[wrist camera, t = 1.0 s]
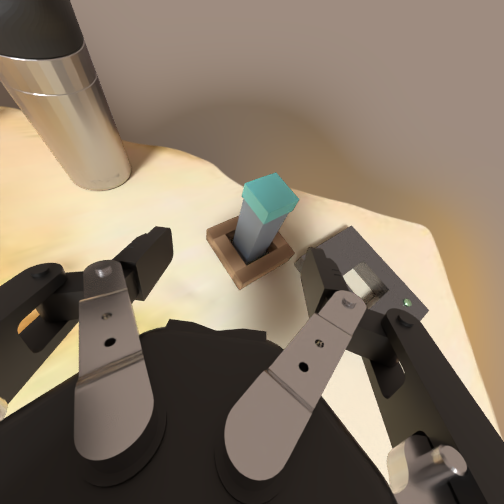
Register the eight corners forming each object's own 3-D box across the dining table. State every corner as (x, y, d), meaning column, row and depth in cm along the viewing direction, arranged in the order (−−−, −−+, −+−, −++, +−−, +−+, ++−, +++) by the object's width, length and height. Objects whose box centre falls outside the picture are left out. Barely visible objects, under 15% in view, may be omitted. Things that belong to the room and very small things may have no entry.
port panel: (293, 264, 36) (301, 256, 33) (342, 234, 41) (352, 224, 38) (369, 362, 31) (385, 363, 28) (412, 314, 36) (430, 310, 33)
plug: (229, 245, 35) (244, 183, 23) (251, 235, 37) (275, 172, 24) (244, 266, 34) (268, 213, 21) (265, 255, 35) (299, 199, 23)
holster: (206, 239, 34) (206, 229, 32) (255, 217, 38) (259, 206, 36) (239, 290, 32) (242, 284, 29) (288, 260, 36) (294, 252, 33)
